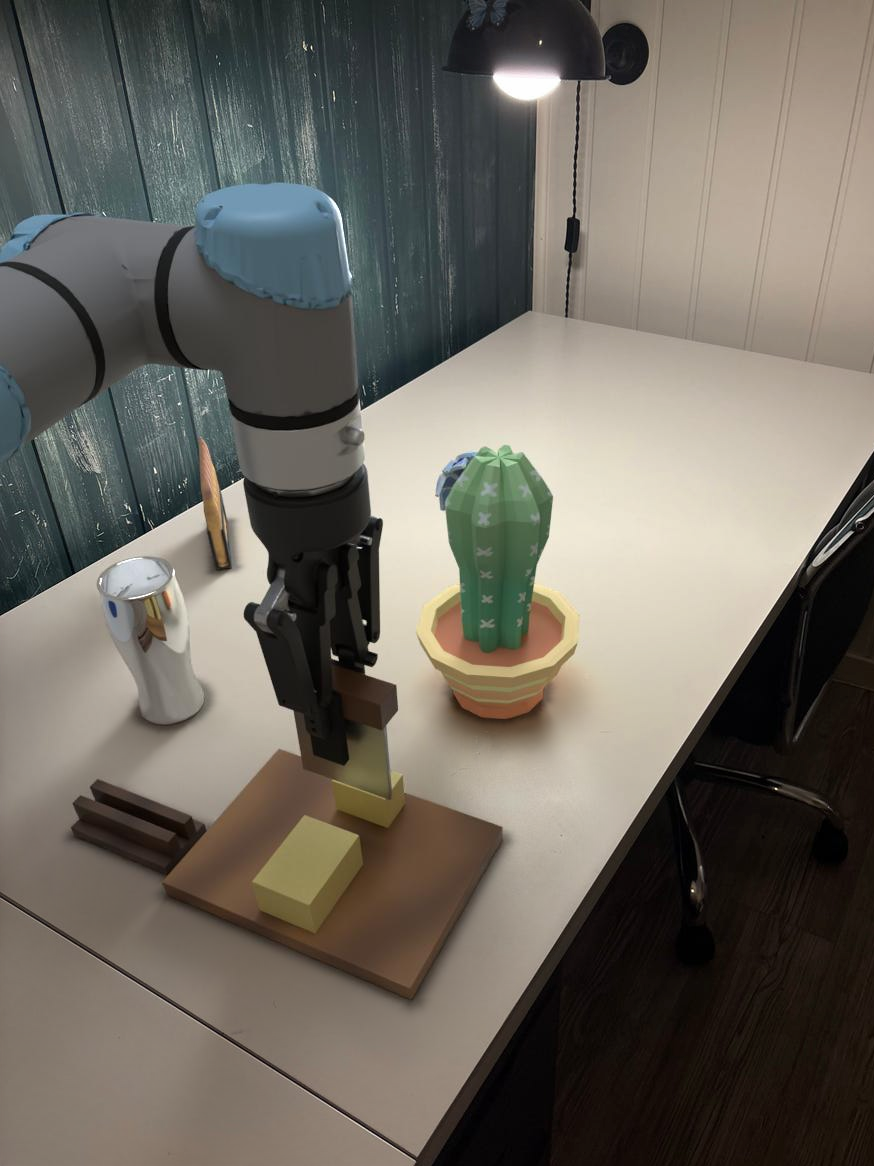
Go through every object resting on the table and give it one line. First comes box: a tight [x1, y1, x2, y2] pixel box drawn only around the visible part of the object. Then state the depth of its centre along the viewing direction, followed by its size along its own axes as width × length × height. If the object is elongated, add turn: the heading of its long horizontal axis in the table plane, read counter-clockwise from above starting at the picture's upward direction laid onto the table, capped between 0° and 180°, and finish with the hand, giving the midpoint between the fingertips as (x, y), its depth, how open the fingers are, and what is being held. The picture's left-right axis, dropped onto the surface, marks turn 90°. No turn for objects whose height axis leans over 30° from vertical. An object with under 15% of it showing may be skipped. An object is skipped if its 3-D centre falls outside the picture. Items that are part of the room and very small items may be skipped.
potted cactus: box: [415, 444, 581, 720], centre depth 85 cm, size 15×15×25 cm
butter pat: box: [332, 770, 405, 828], centre depth 78 cm, size 5×3×4 cm, turn 65°
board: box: [161, 748, 504, 1000], centre depth 76 cm, size 22×16×2 cm
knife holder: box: [70, 778, 207, 876], centre depth 79 cm, size 10×5×3 cm, turn 65°
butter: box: [252, 815, 363, 933], centre depth 72 cm, size 5×7×4 cm
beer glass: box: [96, 556, 205, 725], centre depth 87 cm, size 7×7×15 cm
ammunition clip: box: [198, 437, 233, 571], centre depth 110 cm, size 11×2×12 cm, turn 14°
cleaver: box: [293, 664, 399, 800], centre depth 71 cm, size 9×2×11 cm, turn 65°
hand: (342, 743), depth 72 cm, fingers closed on cleaver, 2 cm apart
